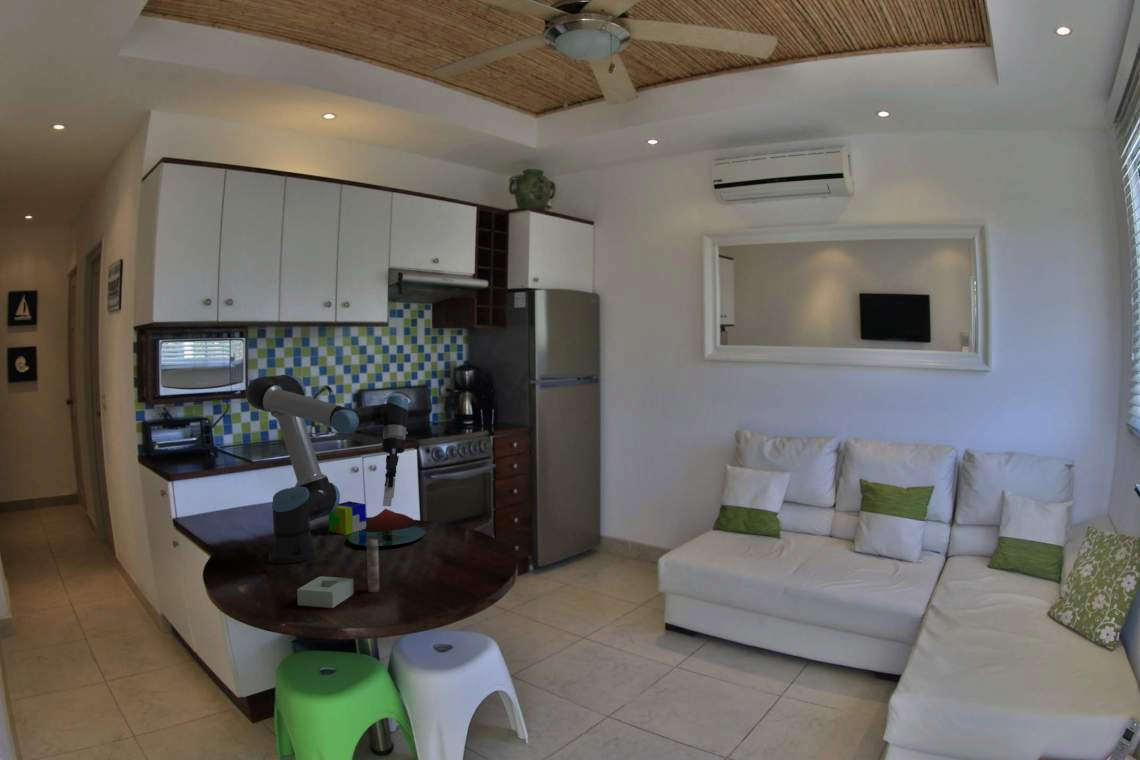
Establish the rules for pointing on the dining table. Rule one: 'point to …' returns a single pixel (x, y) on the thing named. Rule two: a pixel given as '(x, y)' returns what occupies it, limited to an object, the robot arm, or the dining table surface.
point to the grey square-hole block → (325, 592)
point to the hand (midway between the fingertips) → (387, 502)
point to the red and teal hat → (388, 530)
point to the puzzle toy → (348, 518)
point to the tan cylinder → (373, 565)
